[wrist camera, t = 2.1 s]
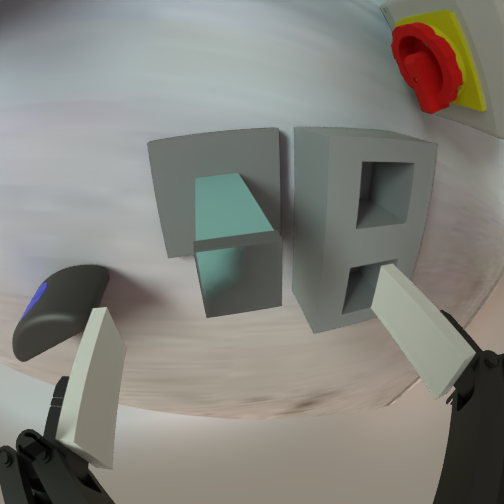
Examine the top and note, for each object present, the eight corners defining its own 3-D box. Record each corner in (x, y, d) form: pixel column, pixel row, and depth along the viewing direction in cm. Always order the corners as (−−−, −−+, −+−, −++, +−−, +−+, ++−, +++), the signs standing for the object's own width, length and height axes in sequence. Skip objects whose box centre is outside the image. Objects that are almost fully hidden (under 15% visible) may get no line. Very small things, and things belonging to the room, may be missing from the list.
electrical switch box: (335, 16, 21) (447, -33, 4) (422, -2, 17) (535, -14, 1) (385, 121, 28) (508, 178, 12) (459, 91, 25) (571, 131, 8)
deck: (150, 141, 23) (147, 143, 22) (274, 127, 25) (278, 128, 24) (169, 251, 29) (168, 258, 28) (276, 236, 31) (280, 242, 30)
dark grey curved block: (91, 243, 27) (61, 294, 19) (115, 273, 29) (95, 329, 21) (22, 297, 28) (-5, 343, 20) (42, 319, 30) (21, 368, 22)
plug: (194, 177, 25) (193, 251, 13) (239, 171, 25) (282, 238, 13) (199, 218, 27) (206, 317, 15) (242, 213, 27) (281, 305, 15)
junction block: (293, 127, 25) (329, 136, 18) (392, 131, 27) (440, 144, 20) (292, 290, 35) (313, 333, 28) (373, 274, 37) (403, 308, 30)
